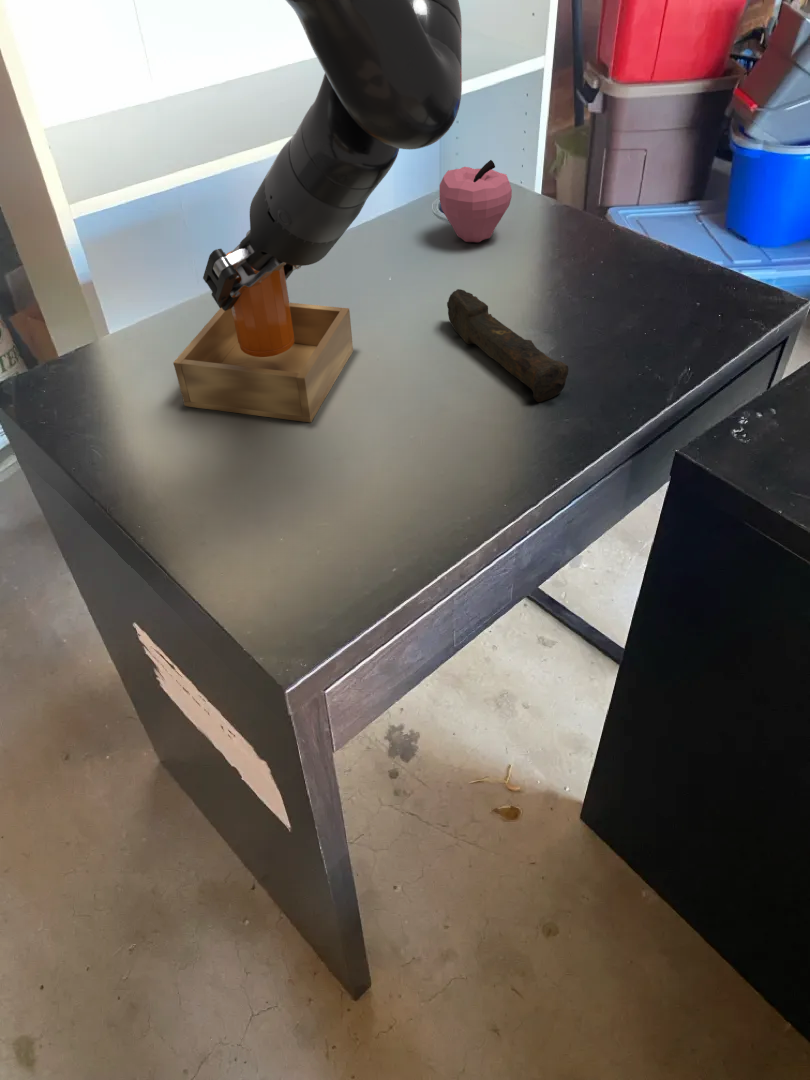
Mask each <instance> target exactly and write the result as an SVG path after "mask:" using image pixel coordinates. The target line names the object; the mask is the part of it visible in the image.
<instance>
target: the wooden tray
mask: <svg viewBox="0 0 810 1080" xmlns="http://www.w3.org/2000/svg"><path fill="white" fill-rule="evenodd" d="M289 303H290V310H291V316H292V323H293V330H294V338H295V341H294V344H293V346H292V347H291V348H290V349H288V350H287V351H285V352H283V353H281V354H278V355H274V356H269V357H255V356H250V355H248V354H246V353H244V352H243V351H242V350H241V349H240V346H239V343H238V338H237V333H236V328H235V324H234V319H233V314H232V309H229V310H226V311H224V310H223V309H222V308H219V309H218V310H217V311H216V312H215V313H214V315H213V316H212V317H211V318H210V319H209V321H207V323H206V324H205V325H204V327H202V328H201V330H200V331H199V332H198V333H197V334H196V336H194V338H193V339H192V340H191V341H190V343H189V344H188V345H187V346H186V347H185V348H184V349H183V350H182V352H181V353H179V355H178V356H177V358H175V360H174V361H173V362H172V363H173V366H174V367H173V368H174V371H175V374H176V378H177V382H178V386H179V390H180V393H181V397H182V402H183V405H184V407H188V408H197V409H205V410H212V411H219V412H221V411H222V412H227V413H235V414H241V415H250V416H258V417H265V418H273V419H280V420H287V421H288V420H289V421H296V422H303V423H312V421H314V418H315V417H316V415H317V413H318V412H319V410H320V408H321V407H322V405H323V403H324V401H325V400H326V398H327V396H328V394H329V393H330V391H331V389H332V388H333V386H334V384H335V383H336V381H337V380H338V377H339V376H340V374H341V373H342V371H343V370H344V367H345V366H346V364H347V362H348V361H349V359H350V357H351V356H352V354H353V352H354V345H353V333H352V323H351V322H352V321H351V310H350V308H349V307H341V306H340V307H339V306H330V305H318V304H311V303H310V304H309V303H299V302H289Z"/></svg>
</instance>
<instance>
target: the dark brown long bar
mask: <svg viewBox="0 0 810 1080" xmlns="http://www.w3.org/2000/svg"><path fill="white" fill-rule="evenodd" d="M446 306H447V315H448V320H449V322H450V325H451V326H452V327H453V329H454V331H455V332H456V333H457V334H458V336H459V337H460V338H461V339H462V340H463V341H464V343H465V344H467V345H476V346H478V347H479V349H481V350H482V351H483V352H484V353H485V354H486V355H487V356H488V357H489V358H491V359H493V360H494V361H496V362H497V363H498V364H499V365H501V366H502V367H503V368H504V369H505V370H506V371H507V372H508V373H510V375H512V376H514V377H515V378H516V379H518V380H519V381H520V382H522V383H523V384H524V385H525V386H526V387H528V388H530V389H531V391H532V392H533V394H532V397H533V399H534V400H535V401H536V402H537V403H542V402H544V401H548V400H549V399H552V398H554V397H555V396H557V395H559V394H560V393H561V392H562V391H563V389H564V388H565V386H566V381H567V378H568V375H569V366H568V364H567V363H565V362H562V361H560V360H556V359H553V358H551V357H549V356H548V355H546V354H545V353H544V352H543V351H541V350H540V349H539V348H537V346H536V345H535V344H534V342H533V341H532V340H531V339H525V338H523V337H522V336H521V335H519V334H517V333H516V332H514V331H513V330H512V329H511V328H509V327H508V326H507V325H505V324H503V323H502V322H500V321H499V320H498V319H497V318H496V317H494V316H493V315H492V314H491V313H489V305H487V304H486V303H485V302H484V301H483V300H480V299H479V298H478V296H477V295H476V296H475V295H474V294H473V293H471V292H467V291H466V290H464V289H460V288H457V289H456V290H454V291H452V292H451V294H449V297H448V301H447V302H446Z"/></svg>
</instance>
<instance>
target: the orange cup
mask: <svg viewBox="0 0 810 1080" xmlns="http://www.w3.org/2000/svg"><path fill="white" fill-rule="evenodd" d="M232 251H233V250H231V251H229V252H227V253H225V254H226V255H229V254H230V253H231V252H232ZM252 269H253V270H254V272H255V273H256V274H257V273H258V272H259V271H257V270H255V269H254V268H253V267H252ZM236 271H237V270H236ZM237 273H238V272H237ZM238 274H239V273H238ZM239 276H240V275H239ZM237 281H238V283H240V282H241V276H240V277H239V278H238V279H237ZM290 303H291V302H290V297H289V291H288V284H287V280H286V277H285V270H284V266H283V267H282V268H281V269H280V270H278V271H273V272H272V273H271V274H270V275H269V276H268V277H267V278H266V279H265V280H264V281H262V282H261V283H260V284H259V285H256V286H252V287H248V288H246V289H245V290H244V291H243V292H242V294H241V295H240V297H239V298H238V300H237V301H236V303H235V304H234V305H233V307H232V308H231V309H232V314H233V319H234V324H235V328H236V333H237V338H238V343H239V346H240V349H241V350H242V351H243V352H244V353H246V354H248V355H250V356H255V357H269V356H274V355H278V354H281V353H283V352H285V351H287V350H288V349H290V348H291V347H292V346H293V344H294V341H295V338H294V330H293V323H292V316H291V310H290Z"/></svg>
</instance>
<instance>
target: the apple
mask: <svg viewBox="0 0 810 1080" xmlns="http://www.w3.org/2000/svg"><path fill="white" fill-rule="evenodd" d="M495 168H496V164H495V162H494V161H493V160H492V159H490V160H489V161H487V162H486V163H484V165H483V166H482V167H481V168H473V167H469V166H462V167H460V168H455V169H448V170H446V172H445V174H444V175H443V177H442V178H441V181H440V183H439V203H440V207H441V211H442V212H443V214H444V215H445V217H446V219H447V220H448V222H449V224H450V225H451V226H452V229H453V231H454V232H455V234H456V236H457V237H458V238H460V239H461V240H463V241H464V242H465V243H480V242H482V241H485V240H488V239H490V238H491V237H492V236H493V233H494V231H495V229H496V227H497V226H498V225H499V223H500V221H501V220H502V218H503V217H504V215H505V213H506V211H507V210H508V208H509V207H510V204H511V200H512V196H513V189H512V186H511V182H510V180H509V178H508V175H507V174H506V173H502V172H499V171H496V170H494V169H495Z"/></svg>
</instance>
